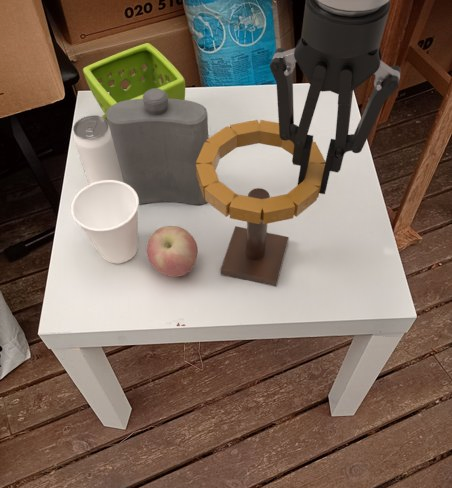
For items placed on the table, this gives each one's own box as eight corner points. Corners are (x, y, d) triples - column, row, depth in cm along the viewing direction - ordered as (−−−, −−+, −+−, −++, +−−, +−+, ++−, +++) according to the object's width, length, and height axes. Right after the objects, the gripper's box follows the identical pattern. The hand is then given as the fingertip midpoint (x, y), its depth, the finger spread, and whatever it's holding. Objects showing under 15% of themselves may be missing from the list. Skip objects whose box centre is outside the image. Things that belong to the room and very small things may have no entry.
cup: (134, 281, 79) (121, 238, 70) (78, 265, 81) (58, 220, 72) (158, 234, 84) (149, 188, 75) (105, 220, 86) (89, 173, 76)
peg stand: (287, 242, 83) (297, 179, 71) (276, 286, 78) (284, 227, 66) (235, 231, 84) (235, 167, 72) (220, 274, 80) (218, 213, 67)
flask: (212, 181, 90) (207, 82, 73) (211, 206, 87) (205, 108, 70) (129, 180, 91) (105, 82, 74) (125, 204, 88) (99, 108, 71)
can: (85, 193, 89) (66, 140, 79) (92, 167, 92) (74, 113, 82) (122, 194, 89) (107, 140, 79) (127, 168, 92) (113, 113, 82)
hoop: (331, 145, 69) (333, 132, 67) (309, 234, 61) (311, 223, 59) (217, 124, 71) (217, 112, 69) (182, 208, 63) (180, 196, 61)
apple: (140, 268, 81) (132, 237, 74) (174, 240, 83) (169, 207, 77) (176, 296, 78) (170, 266, 71) (209, 265, 81) (207, 234, 74)
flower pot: (158, 99, 102) (149, 39, 92) (193, 138, 96) (188, 79, 85) (96, 124, 99) (79, 65, 88) (127, 167, 92) (113, 109, 82)
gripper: (256, 5, 44) (248, 193, 64) (434, 30, 42) (368, 217, 62) (274, -37, 48) (262, 153, 68) (439, -16, 45) (375, 174, 65)
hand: (312, 183), depth 65 cm, fingers closed on hoop, 2 cm apart
